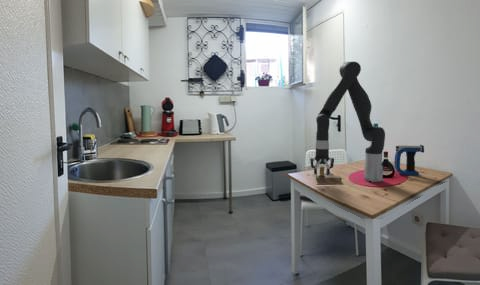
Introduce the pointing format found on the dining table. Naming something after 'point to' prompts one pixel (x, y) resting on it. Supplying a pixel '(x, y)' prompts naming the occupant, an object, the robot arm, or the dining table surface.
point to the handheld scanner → (410, 158)
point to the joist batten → (328, 179)
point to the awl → (321, 171)
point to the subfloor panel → (315, 175)
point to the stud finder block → (329, 174)
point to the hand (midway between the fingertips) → (321, 174)
